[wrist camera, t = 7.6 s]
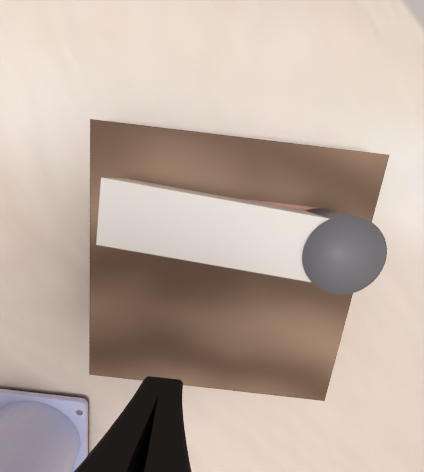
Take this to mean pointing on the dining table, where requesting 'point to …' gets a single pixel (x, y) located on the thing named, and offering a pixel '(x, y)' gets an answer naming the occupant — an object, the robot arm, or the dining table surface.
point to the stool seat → (216, 277)
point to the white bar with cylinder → (241, 234)
